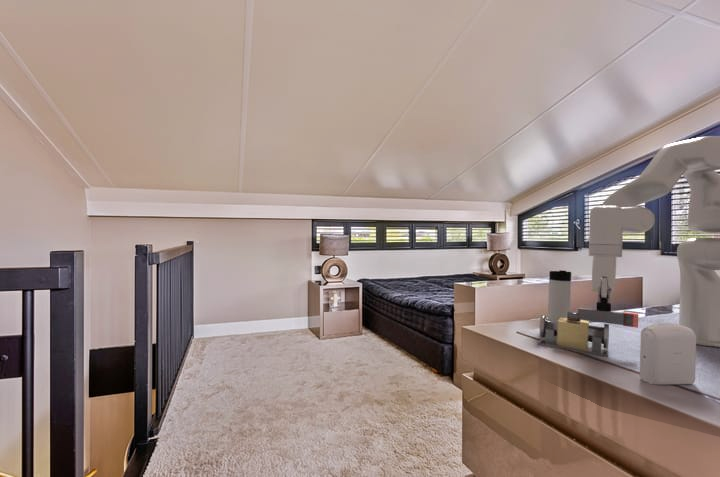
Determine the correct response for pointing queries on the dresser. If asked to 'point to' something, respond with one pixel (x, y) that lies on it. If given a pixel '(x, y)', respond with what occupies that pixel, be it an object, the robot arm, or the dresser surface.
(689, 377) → the photo printer
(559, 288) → the travel mug
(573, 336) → the grey vise
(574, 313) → the lever
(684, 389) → the dresser surface
